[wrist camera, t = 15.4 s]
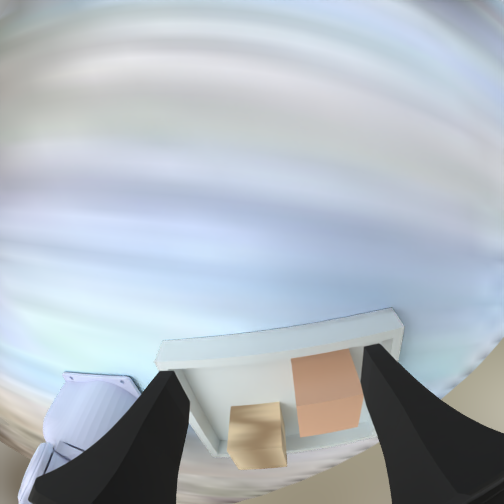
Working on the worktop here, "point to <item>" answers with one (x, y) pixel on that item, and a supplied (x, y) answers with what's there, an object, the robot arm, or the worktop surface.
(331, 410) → the terracotta block
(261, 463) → the oak block
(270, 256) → the worktop surface
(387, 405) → the robot arm
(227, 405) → the grey tray
